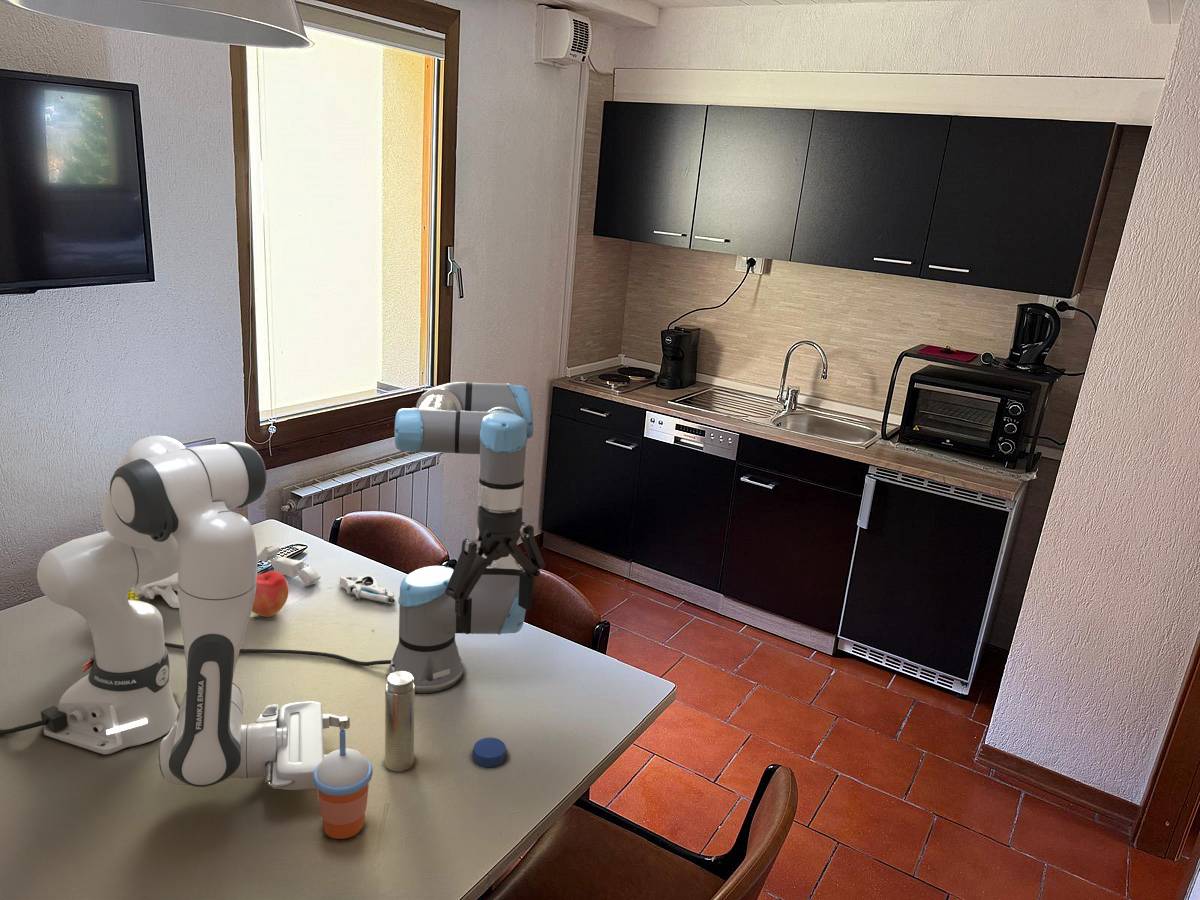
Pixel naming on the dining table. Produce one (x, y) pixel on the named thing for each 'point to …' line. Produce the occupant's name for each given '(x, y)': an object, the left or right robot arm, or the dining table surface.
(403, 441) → the right robot arm
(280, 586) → the apple
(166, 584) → the skull
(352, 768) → the cup with straw
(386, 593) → the toy gun
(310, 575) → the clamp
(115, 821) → the dining table surface
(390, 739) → the silver metal cylinder
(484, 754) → the lid
